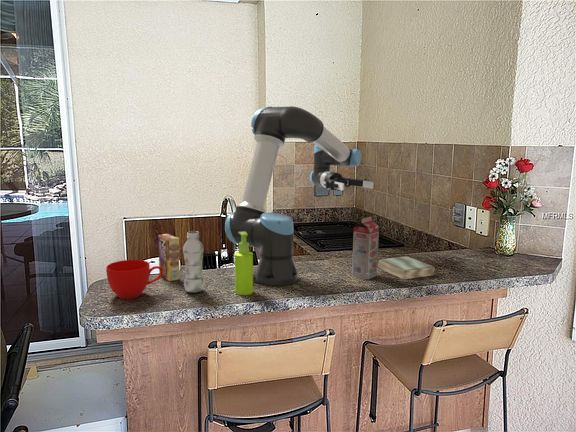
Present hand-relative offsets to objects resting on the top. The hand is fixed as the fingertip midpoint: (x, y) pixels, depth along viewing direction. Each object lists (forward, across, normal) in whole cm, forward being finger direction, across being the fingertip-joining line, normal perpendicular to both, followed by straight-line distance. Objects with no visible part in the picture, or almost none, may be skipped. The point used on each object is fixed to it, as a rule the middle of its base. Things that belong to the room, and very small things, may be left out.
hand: (358, 186), depth 182 cm
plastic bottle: (+10, +68, -31) cm, 76 cm away
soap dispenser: (+16, +53, -31) cm, 64 cm away
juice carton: (+16, +6, -31) cm, 36 cm away
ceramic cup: (+6, +86, -31) cm, 92 cm away
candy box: (-8, +73, -31) cm, 80 cm away
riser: (+17, -12, -31) cm, 38 cm away
